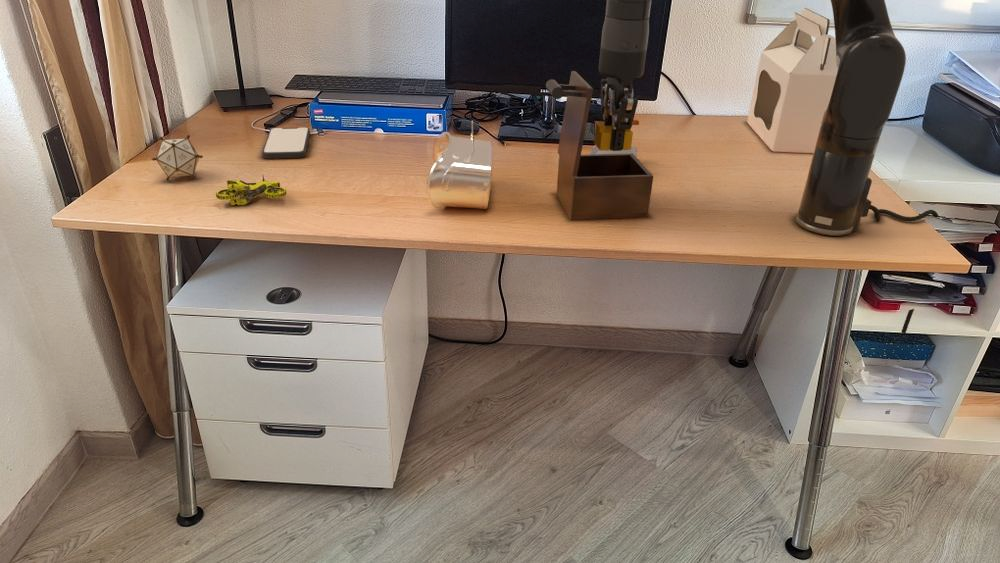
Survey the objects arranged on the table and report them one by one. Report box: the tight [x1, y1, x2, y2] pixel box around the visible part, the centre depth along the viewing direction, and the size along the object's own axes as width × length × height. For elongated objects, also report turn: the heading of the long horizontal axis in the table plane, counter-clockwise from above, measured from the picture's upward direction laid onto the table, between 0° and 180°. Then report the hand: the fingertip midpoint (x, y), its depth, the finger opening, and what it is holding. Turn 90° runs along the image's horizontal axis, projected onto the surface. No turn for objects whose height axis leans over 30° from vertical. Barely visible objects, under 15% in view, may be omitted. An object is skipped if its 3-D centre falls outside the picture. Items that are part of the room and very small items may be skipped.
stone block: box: [588, 145, 638, 158], centre depth 148 cm, size 12×5×10 cm
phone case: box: [261, 126, 311, 160], centre depth 154 cm, size 9×2×16 cm
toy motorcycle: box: [215, 174, 288, 206], centre depth 128 cm, size 12×4×7 cm
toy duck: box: [593, 119, 640, 151], centre depth 125 cm, size 7×4×6 cm, turn 99°
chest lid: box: [545, 70, 594, 176], centre depth 122 cm, size 15×12×6 cm
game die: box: [151, 134, 204, 182], centre depth 135 cm, size 9×8×10 cm
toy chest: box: [556, 153, 654, 221], centre depth 129 cm, size 14×12×8 cm
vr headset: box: [425, 120, 493, 210], centre depth 130 cm, size 18×11×14 cm, turn 1°
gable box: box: [746, 7, 838, 154], centre depth 163 cm, size 22×13×28 cm, turn 178°
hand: (612, 145), depth 126 cm, fingers closed on toy duck, 4 cm apart
